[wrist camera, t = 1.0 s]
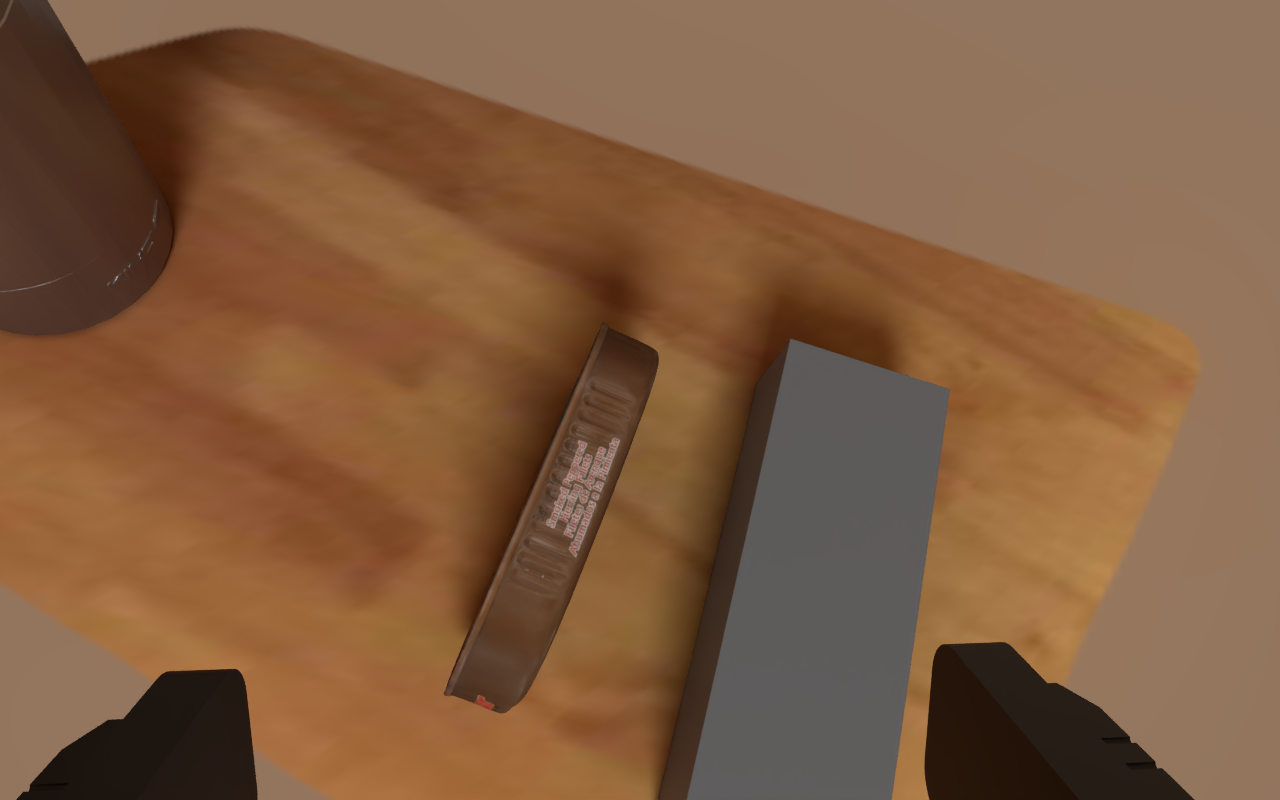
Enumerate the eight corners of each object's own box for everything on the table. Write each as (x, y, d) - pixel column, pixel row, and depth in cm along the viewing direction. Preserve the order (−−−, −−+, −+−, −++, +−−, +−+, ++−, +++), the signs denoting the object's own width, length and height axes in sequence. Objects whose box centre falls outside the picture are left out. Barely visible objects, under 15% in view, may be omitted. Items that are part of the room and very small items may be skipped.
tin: (581, 368, 40) (604, 279, 33) (646, 394, 40) (684, 312, 33) (439, 696, 35) (426, 684, 27) (515, 726, 35) (523, 722, 27)
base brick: (653, 821, 34) (679, 834, 30) (756, 383, 41) (790, 338, 37) (826, 871, 35) (878, 891, 30) (899, 428, 42) (949, 389, 37)
